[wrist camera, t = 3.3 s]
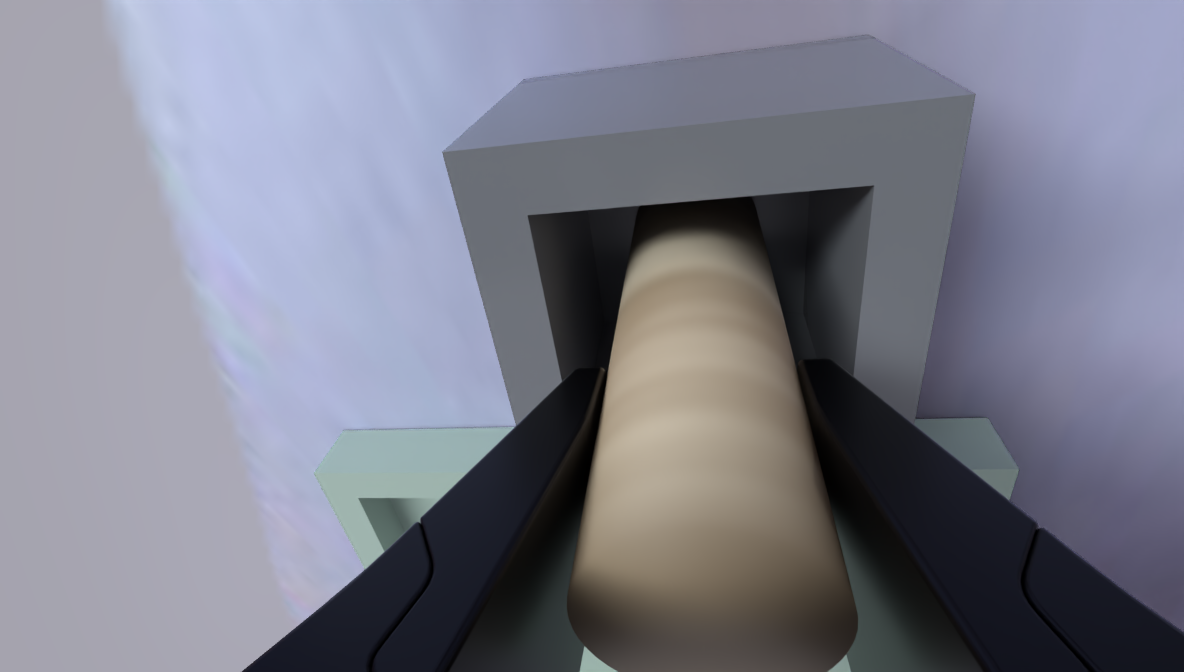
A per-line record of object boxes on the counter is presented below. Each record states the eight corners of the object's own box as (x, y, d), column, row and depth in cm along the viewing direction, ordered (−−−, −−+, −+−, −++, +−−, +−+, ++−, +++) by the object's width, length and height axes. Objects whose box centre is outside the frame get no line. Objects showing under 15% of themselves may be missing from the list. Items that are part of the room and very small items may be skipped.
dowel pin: (758, 278, 13) (845, 705, 6) (640, 286, 14) (588, 690, 6) (758, 162, 12) (872, 530, 5) (628, 175, 13) (544, 526, 5)
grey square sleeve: (841, 335, 15) (902, 493, 11) (573, 347, 16) (534, 492, 12) (868, 34, 11) (975, 94, 7) (523, 79, 12) (442, 152, 8)
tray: (911, 703, 23) (926, 756, 21) (459, 676, 26) (445, 721, 25) (987, 417, 15) (1018, 469, 14) (343, 430, 19) (313, 473, 17)
